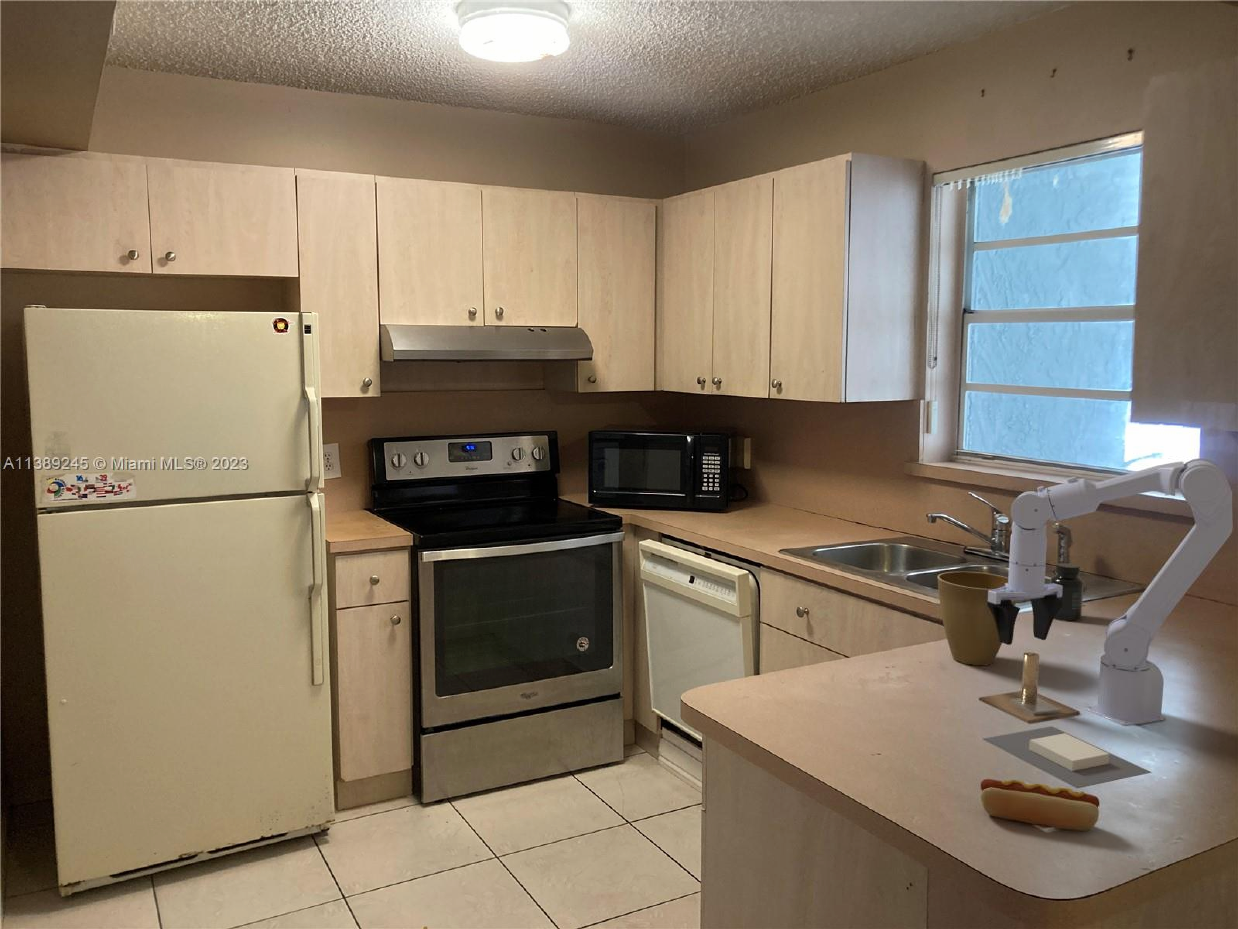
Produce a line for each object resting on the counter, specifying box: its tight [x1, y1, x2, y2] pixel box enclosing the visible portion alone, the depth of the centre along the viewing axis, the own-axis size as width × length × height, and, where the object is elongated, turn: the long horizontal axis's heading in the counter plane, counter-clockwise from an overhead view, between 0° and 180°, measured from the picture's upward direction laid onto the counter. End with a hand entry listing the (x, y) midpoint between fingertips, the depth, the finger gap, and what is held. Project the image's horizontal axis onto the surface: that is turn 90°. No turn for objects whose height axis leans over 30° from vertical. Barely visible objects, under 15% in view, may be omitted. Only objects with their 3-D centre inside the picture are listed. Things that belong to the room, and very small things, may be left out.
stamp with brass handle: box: [1010, 651, 1060, 716], centre depth 161 cm, size 6×5×9 cm
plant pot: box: [937, 571, 1017, 666], centre depth 188 cm, size 15×15×16 cm
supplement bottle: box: [1049, 562, 1084, 622], centre depth 219 cm, size 7×7×12 cm
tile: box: [1029, 732, 1110, 771], centre depth 142 cm, size 7×2×8 cm
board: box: [978, 690, 1081, 724], centre depth 163 cm, size 11×11×1 cm
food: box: [980, 778, 1100, 832], centre depth 124 cm, size 14×6×5 cm, turn 69°
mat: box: [982, 726, 1152, 789], centre depth 143 cm, size 14×18×1 cm
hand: (1022, 640), depth 166 cm, fingers open, 7 cm apart
